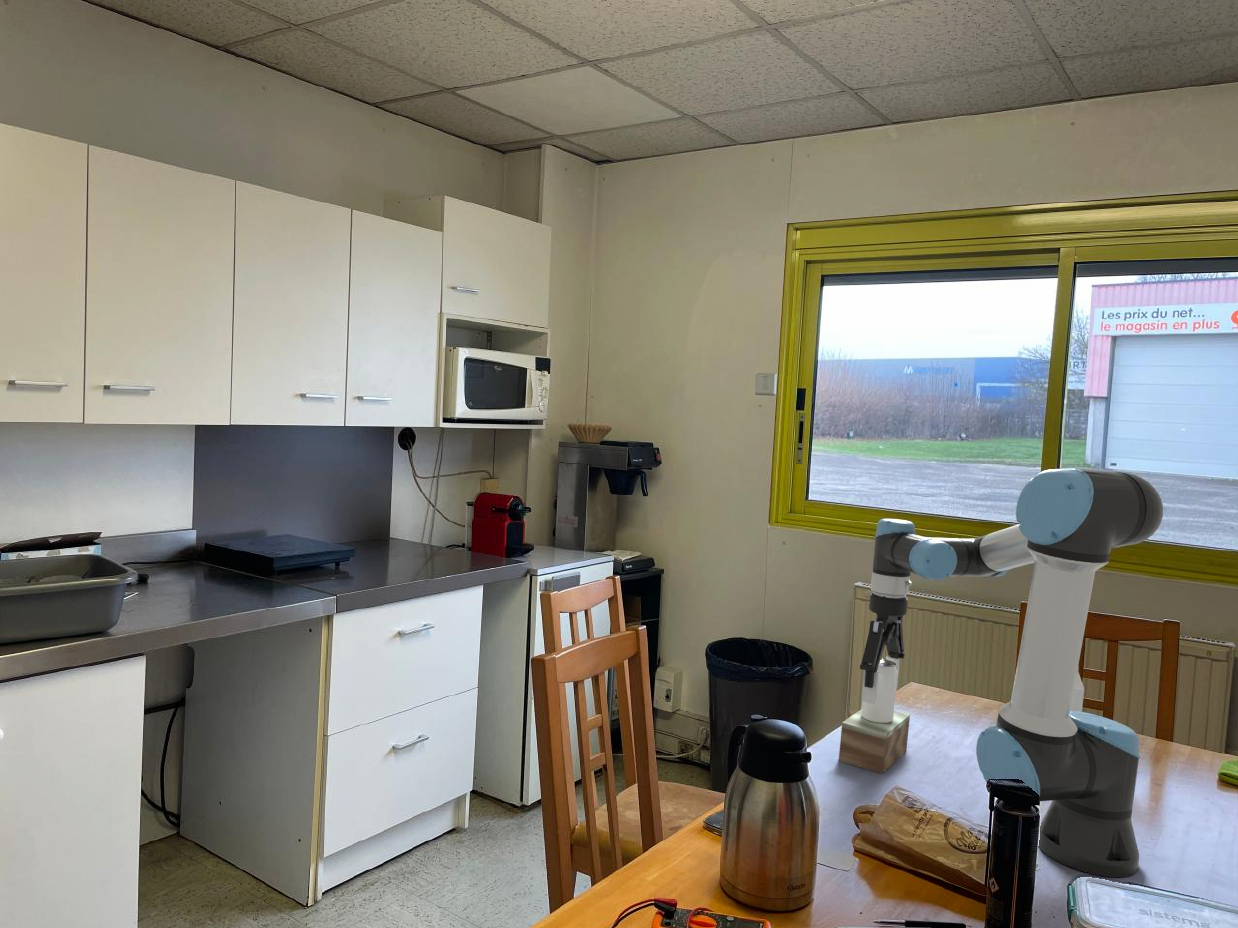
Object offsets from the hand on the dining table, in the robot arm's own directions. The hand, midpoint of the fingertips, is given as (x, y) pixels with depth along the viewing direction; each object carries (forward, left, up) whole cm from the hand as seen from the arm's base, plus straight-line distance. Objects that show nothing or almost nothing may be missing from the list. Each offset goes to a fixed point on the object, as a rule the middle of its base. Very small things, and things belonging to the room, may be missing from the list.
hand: (879, 694), depth 187 cm
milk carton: (+35, -29, -13) cm, 47 cm away
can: (0, 0, -5) cm, 5 cm away
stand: (0, 0, -13) cm, 13 cm away
